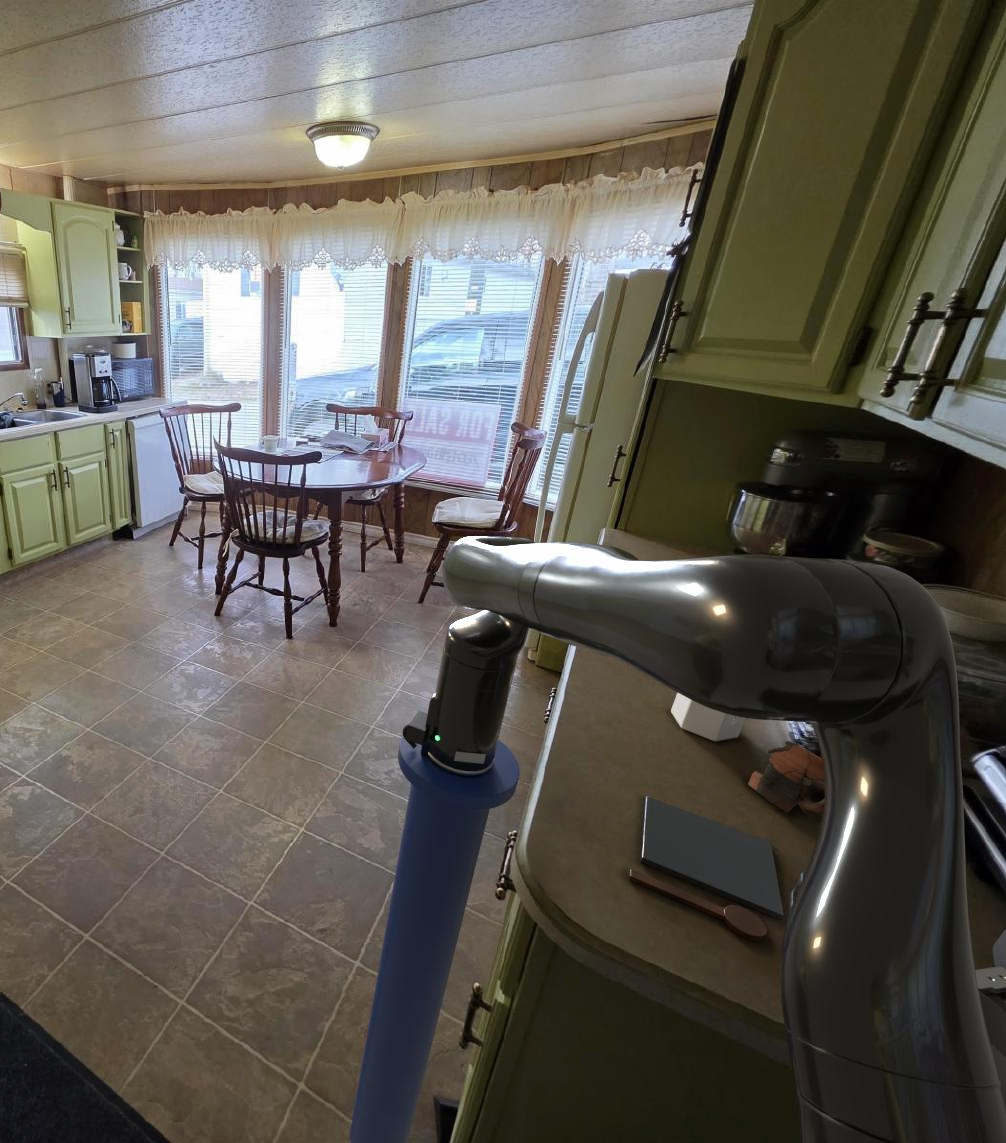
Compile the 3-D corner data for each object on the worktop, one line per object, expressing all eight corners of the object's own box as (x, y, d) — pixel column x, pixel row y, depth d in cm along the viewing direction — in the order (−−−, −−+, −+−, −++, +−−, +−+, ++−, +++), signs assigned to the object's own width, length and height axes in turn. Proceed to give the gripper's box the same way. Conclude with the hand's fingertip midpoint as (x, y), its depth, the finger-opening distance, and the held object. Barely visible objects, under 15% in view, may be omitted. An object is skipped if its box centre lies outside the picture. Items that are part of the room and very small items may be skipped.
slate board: (640, 862, 71) (642, 857, 71) (644, 800, 80) (646, 796, 80) (781, 920, 65) (784, 915, 64) (768, 846, 74) (771, 841, 74)
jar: (705, 745, 91) (732, 678, 87) (658, 713, 99) (681, 649, 94) (750, 736, 94) (779, 670, 89) (701, 706, 101) (726, 643, 96)
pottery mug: (727, 771, 87) (766, 726, 85) (786, 808, 86) (827, 763, 84) (786, 815, 75) (833, 764, 73) (856, 858, 74) (905, 808, 73)
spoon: (627, 887, 68) (629, 882, 68) (629, 865, 71) (631, 860, 70) (766, 947, 62) (768, 942, 61) (762, 920, 65) (764, 916, 64)
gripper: (1176, 1143, 30) (1099, 930, 41) (801, 945, 39) (819, 814, 50) (1090, 1220, 33) (1039, 1002, 43) (759, 1019, 42) (785, 880, 53)
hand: (921, 902), depth 47 cm, fingers open, 8 cm apart
